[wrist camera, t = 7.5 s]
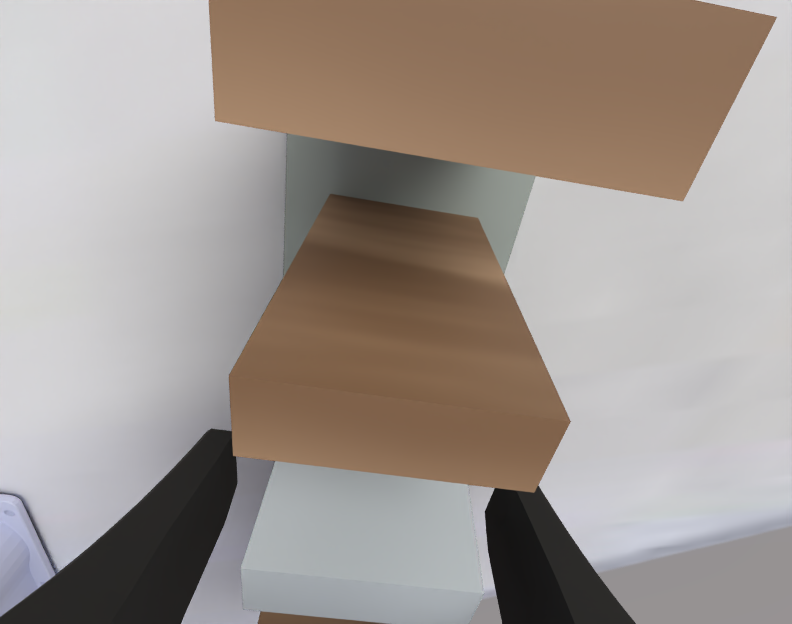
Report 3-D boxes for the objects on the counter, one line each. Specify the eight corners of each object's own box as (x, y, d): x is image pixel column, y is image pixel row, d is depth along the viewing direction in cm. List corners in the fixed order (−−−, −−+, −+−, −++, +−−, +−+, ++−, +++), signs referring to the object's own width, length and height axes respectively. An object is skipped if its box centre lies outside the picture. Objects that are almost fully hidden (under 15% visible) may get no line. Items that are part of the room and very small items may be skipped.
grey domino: (320, 320, 16) (240, 568, 8) (446, 338, 16) (484, 593, 8) (318, 354, 17) (242, 610, 9) (438, 371, 17) (465, 631, 9)
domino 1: (506, 110, 12) (683, 201, 4) (339, 80, 12) (215, 120, 4) (524, 45, 11) (776, 17, 4) (345, 10, 11) (203, -101, 3)
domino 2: (466, 262, 15) (534, 492, 7) (326, 240, 14) (233, 456, 7) (478, 218, 14) (570, 421, 6) (329, 193, 13) (228, 375, 6)
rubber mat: (414, 547, 24) (414, 554, 24) (278, 532, 23) (276, 538, 23) (633, -147, 10) (641, -155, 9) (300, -222, 9) (296, -233, 9)
